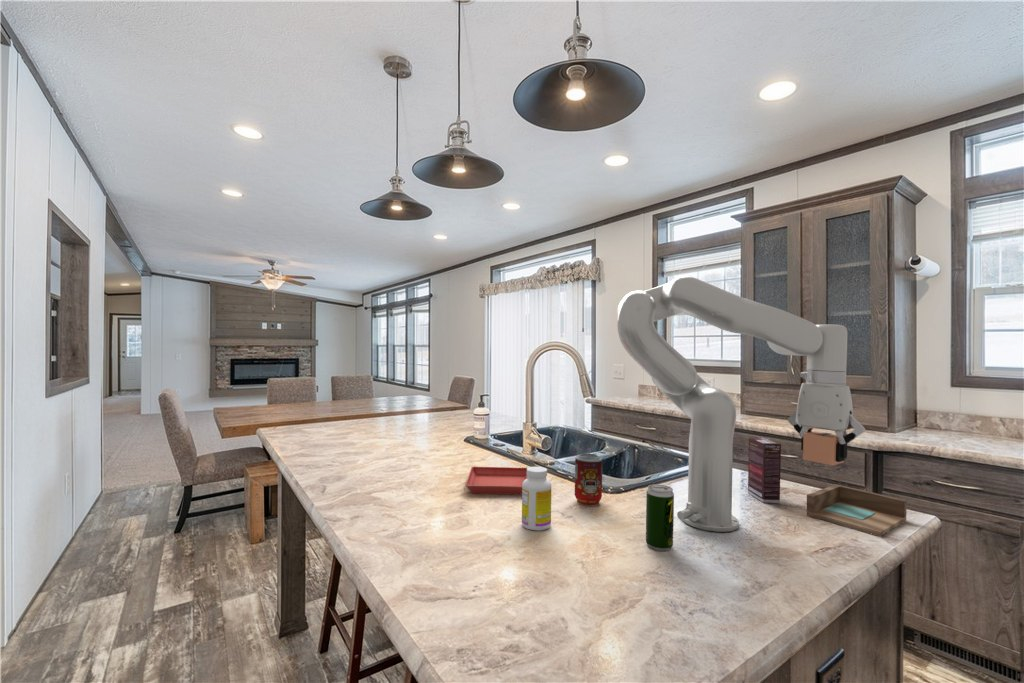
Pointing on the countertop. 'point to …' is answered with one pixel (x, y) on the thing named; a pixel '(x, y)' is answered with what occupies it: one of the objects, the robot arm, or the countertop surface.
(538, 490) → the supplement bottle
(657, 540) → the beer can
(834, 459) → the brown box
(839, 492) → the corner board
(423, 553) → the countertop surface
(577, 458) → the soda can
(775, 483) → the supplement box
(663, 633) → the countertop surface
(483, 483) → the plant saucer
